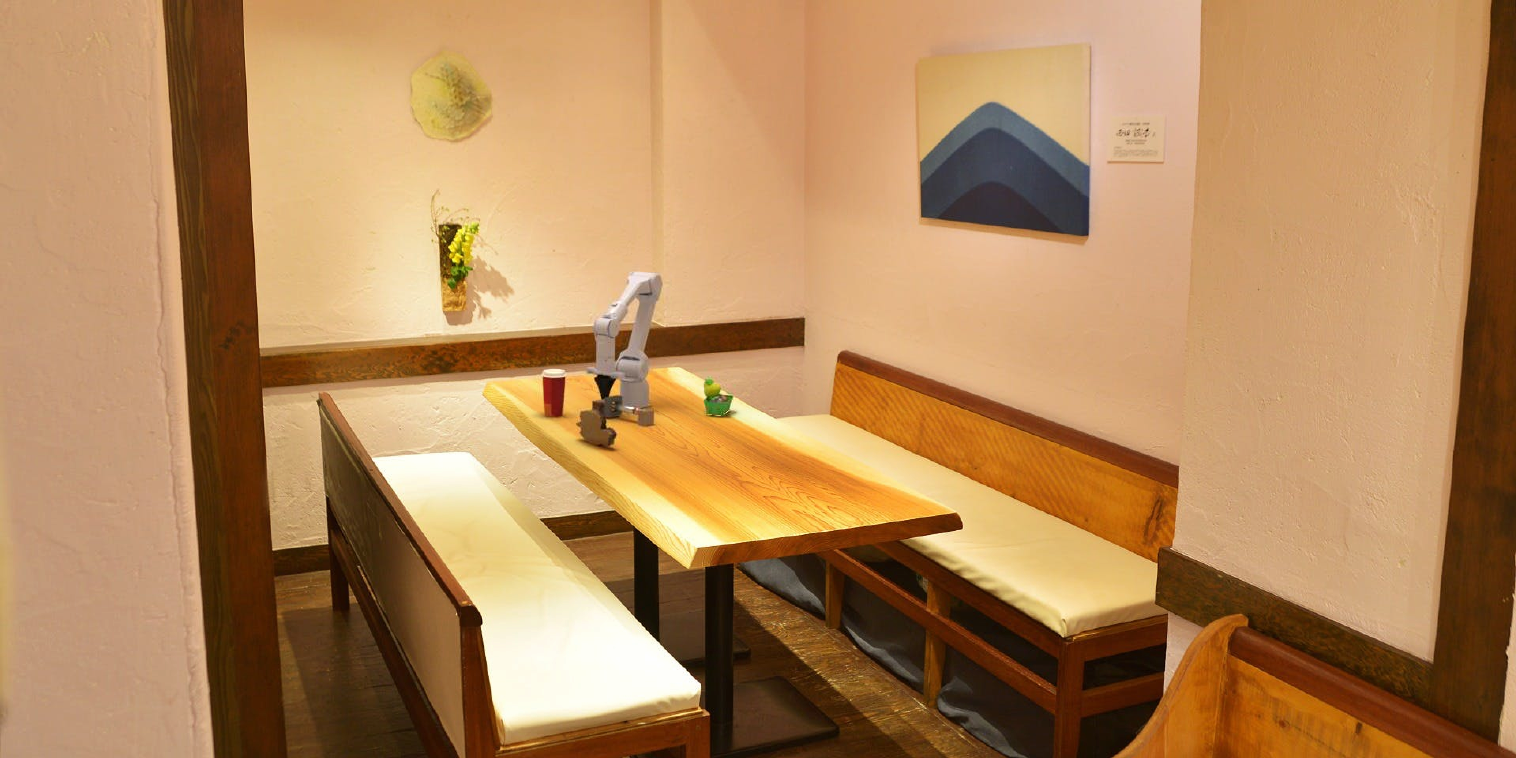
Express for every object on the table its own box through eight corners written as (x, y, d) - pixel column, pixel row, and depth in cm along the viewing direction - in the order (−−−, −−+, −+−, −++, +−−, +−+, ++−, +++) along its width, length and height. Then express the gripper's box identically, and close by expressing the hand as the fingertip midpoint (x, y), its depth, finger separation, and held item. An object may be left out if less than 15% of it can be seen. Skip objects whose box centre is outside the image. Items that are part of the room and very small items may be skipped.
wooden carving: (621, 448, 365) (622, 414, 363) (609, 451, 362) (610, 416, 360) (583, 437, 376) (583, 404, 374) (571, 440, 372) (571, 406, 370)
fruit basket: (725, 418, 407) (727, 383, 405) (698, 416, 409) (699, 381, 407) (733, 410, 418) (734, 376, 416) (707, 408, 420) (708, 374, 418)
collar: (604, 416, 400) (604, 397, 399) (617, 413, 405) (617, 395, 404) (608, 417, 399) (609, 398, 398) (621, 414, 404) (622, 395, 403)
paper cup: (568, 413, 405) (569, 369, 403) (562, 418, 398) (563, 374, 395) (544, 411, 406) (544, 368, 403) (537, 416, 399) (538, 372, 396)
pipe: (592, 414, 405) (592, 400, 404) (601, 412, 408) (601, 398, 407) (645, 426, 392) (645, 411, 391) (653, 424, 395) (654, 409, 394)
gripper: (579, 354, 402) (579, 397, 404) (614, 361, 393) (613, 404, 396) (595, 352, 407) (594, 394, 410) (629, 358, 399) (628, 401, 401)
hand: (604, 399), depth 403 cm, fingers closed
